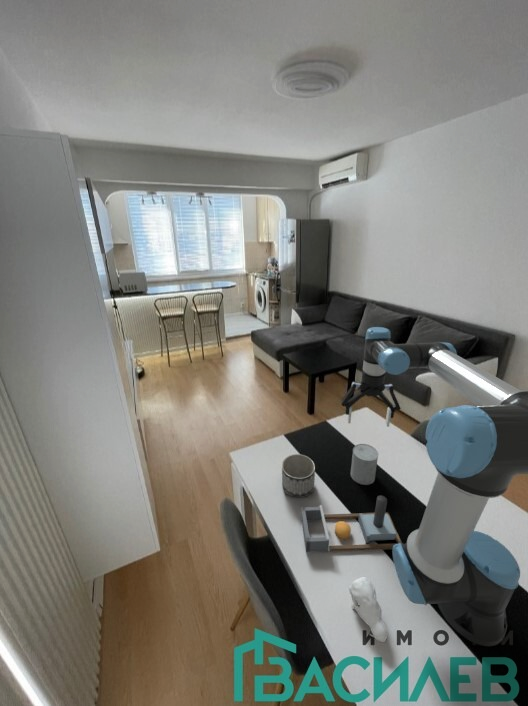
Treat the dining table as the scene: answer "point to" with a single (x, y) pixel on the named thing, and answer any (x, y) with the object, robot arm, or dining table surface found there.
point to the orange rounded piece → (342, 530)
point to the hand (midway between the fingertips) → (367, 422)
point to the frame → (310, 543)
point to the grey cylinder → (364, 464)
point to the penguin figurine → (368, 607)
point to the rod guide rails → (359, 547)
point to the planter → (298, 475)
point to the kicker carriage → (377, 523)
